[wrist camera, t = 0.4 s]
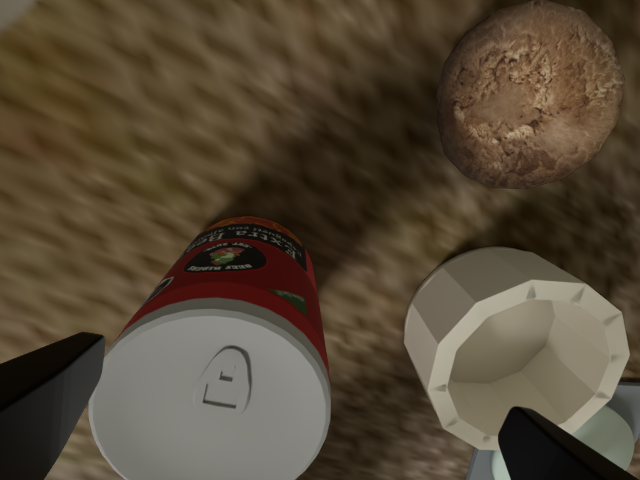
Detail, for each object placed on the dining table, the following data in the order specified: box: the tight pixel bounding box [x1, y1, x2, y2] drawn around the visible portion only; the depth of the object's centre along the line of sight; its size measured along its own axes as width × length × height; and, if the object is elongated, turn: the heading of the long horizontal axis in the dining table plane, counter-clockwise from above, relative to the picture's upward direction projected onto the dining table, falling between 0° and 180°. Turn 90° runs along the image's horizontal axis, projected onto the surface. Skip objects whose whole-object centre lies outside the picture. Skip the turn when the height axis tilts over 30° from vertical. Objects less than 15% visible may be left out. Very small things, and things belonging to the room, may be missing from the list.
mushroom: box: [436, 0, 625, 189], centre depth 18 cm, size 8×8×6 cm
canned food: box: [89, 216, 331, 480], centre depth 17 cm, size 8×8×11 cm
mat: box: [466, 382, 640, 480], centre depth 28 cm, size 12×12×1 cm
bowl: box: [404, 246, 630, 450], centre depth 22 cm, size 10×10×5 cm
